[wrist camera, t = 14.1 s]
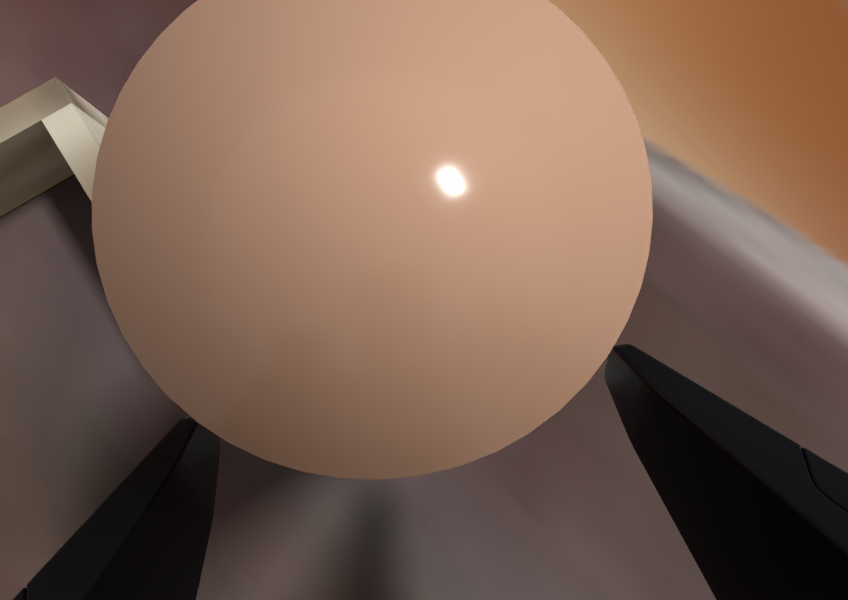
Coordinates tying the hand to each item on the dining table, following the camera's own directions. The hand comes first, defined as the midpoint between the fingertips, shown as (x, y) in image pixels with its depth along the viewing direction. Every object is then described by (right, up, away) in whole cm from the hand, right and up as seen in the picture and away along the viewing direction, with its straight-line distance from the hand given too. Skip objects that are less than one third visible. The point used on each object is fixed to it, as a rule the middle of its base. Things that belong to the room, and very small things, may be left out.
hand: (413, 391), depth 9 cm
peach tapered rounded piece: (-1, +2, +8) cm, 8 cm away
